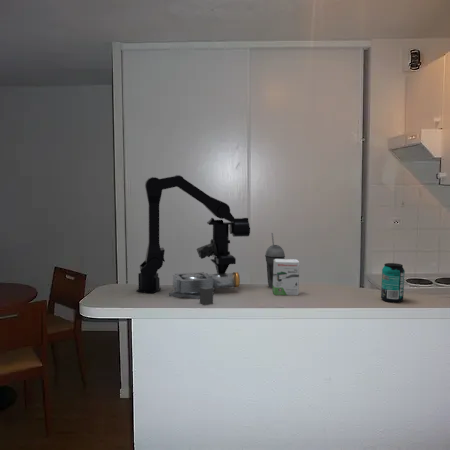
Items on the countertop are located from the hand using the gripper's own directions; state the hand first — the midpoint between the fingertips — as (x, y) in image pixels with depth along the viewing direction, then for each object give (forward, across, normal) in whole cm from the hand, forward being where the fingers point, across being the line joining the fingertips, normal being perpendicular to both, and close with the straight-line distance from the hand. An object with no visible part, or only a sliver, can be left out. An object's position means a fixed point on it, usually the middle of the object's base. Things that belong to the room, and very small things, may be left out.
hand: (220, 279), depth 181 cm
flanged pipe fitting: (+2, +6, -6) cm, 9 cm away
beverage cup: (+3, +3, +20) cm, 20 cm away
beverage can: (+3, +30, +51) cm, 59 cm away
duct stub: (+3, +6, -12) cm, 13 cm away
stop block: (+3, +20, -10) cm, 22 cm away
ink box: (+3, +13, +20) cm, 24 cm away
